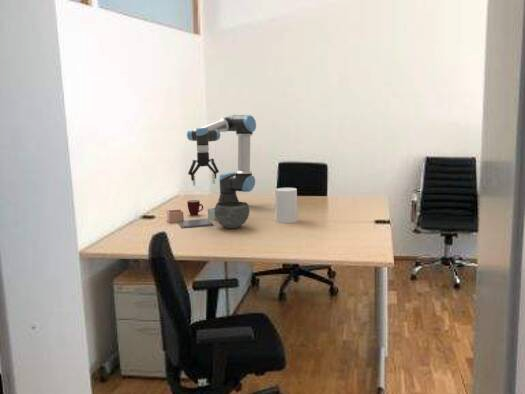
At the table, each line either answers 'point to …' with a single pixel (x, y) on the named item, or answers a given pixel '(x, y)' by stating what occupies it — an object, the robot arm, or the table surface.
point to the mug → (194, 207)
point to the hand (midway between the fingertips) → (204, 184)
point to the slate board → (195, 223)
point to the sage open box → (211, 214)
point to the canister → (286, 205)
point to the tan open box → (175, 215)
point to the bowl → (231, 213)
